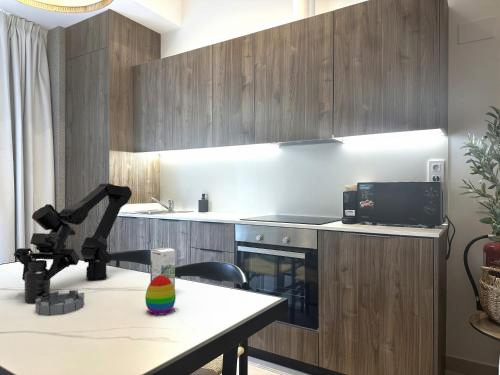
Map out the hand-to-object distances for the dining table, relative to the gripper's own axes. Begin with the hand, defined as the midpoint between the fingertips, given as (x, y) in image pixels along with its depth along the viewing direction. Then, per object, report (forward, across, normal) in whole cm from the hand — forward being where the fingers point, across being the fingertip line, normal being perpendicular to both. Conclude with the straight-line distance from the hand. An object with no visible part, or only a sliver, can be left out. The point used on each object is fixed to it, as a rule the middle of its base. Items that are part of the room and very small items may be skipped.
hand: (34, 280), depth 106 cm
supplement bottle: (+4, 0, +6) cm, 7 cm away
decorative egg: (+9, +41, +1) cm, 42 cm away
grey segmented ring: (+8, +11, +1) cm, 14 cm away
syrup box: (-3, +36, +12) cm, 38 cm away
